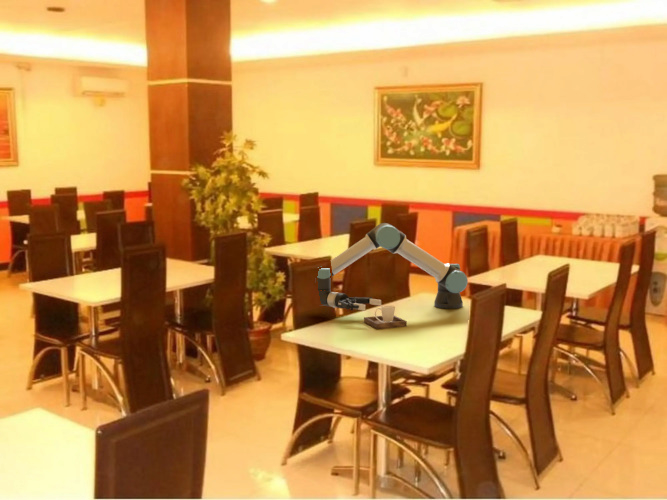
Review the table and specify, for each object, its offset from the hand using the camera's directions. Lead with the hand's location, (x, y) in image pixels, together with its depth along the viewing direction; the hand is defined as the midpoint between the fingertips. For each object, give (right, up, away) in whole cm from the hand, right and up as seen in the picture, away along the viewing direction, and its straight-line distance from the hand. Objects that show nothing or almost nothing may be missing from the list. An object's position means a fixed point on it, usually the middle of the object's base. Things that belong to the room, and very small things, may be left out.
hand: (373, 305), depth 346 cm
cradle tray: (+6, -9, -3) cm, 11 cm away
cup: (+6, -8, -3) cm, 11 cm away
